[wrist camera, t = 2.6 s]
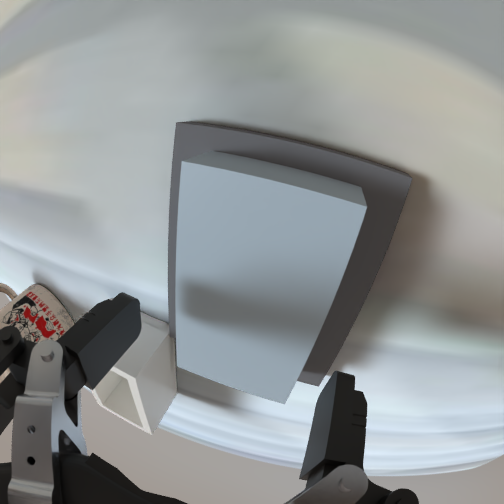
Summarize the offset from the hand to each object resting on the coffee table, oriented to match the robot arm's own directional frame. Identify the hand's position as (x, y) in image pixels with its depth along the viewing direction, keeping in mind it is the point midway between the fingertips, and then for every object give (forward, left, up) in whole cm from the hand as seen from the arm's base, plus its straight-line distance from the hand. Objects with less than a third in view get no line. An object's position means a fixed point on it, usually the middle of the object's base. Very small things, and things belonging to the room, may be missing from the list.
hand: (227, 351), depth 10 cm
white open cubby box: (+10, -8, -5) cm, 14 cm away
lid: (-1, 0, -4) cm, 4 cm away
